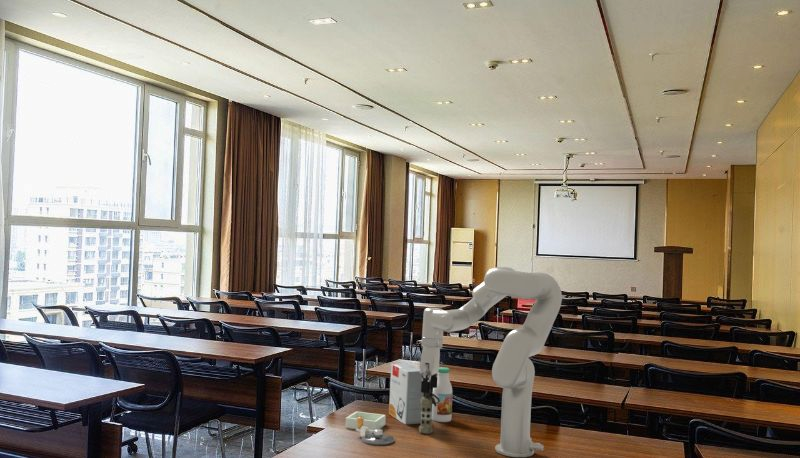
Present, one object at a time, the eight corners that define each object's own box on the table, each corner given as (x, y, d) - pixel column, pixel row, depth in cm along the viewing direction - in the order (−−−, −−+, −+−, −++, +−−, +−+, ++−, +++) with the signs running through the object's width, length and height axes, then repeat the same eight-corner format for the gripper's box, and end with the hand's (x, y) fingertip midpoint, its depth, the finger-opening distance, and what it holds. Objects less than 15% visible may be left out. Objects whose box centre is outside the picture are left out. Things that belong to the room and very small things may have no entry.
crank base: (398, 438, 229) (398, 426, 229) (387, 447, 218) (388, 434, 218) (366, 434, 232) (367, 422, 232) (355, 442, 222) (355, 430, 222)
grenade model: (436, 435, 235) (438, 392, 235) (417, 433, 236) (419, 391, 237) (439, 430, 241) (441, 389, 241) (420, 429, 242) (422, 387, 243)
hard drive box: (388, 414, 261) (390, 363, 262) (405, 413, 264) (407, 363, 265) (405, 425, 247) (407, 371, 248) (423, 423, 250) (425, 370, 251)
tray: (385, 424, 246) (385, 415, 246) (375, 431, 236) (376, 421, 236) (355, 421, 249) (356, 411, 249) (345, 427, 239) (345, 417, 239)
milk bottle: (429, 421, 254) (431, 368, 255) (434, 416, 261) (436, 365, 262) (448, 423, 252) (451, 370, 252) (453, 419, 259) (455, 367, 260)
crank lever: (384, 436, 226) (385, 421, 226) (379, 438, 223) (379, 423, 223) (359, 430, 231) (360, 416, 231) (354, 432, 228) (355, 418, 229)
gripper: (428, 338, 249) (425, 384, 249) (415, 344, 232) (412, 393, 232) (447, 340, 247) (444, 386, 246) (436, 346, 230) (433, 396, 230)
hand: (429, 390), depth 239 cm, fingers open, 9 cm apart
